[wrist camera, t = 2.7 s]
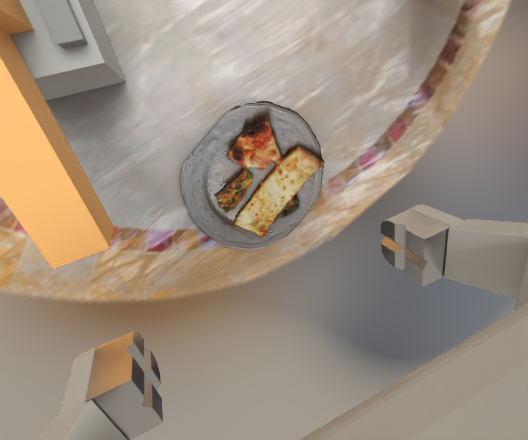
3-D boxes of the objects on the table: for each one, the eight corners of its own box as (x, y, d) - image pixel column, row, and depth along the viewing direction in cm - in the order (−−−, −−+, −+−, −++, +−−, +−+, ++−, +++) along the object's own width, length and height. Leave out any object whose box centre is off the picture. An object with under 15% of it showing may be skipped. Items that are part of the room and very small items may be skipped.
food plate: (259, 68, 44) (267, 67, 41) (339, 167, 56) (350, 172, 53) (152, 192, 45) (153, 200, 42) (252, 262, 58) (258, 272, 55)
